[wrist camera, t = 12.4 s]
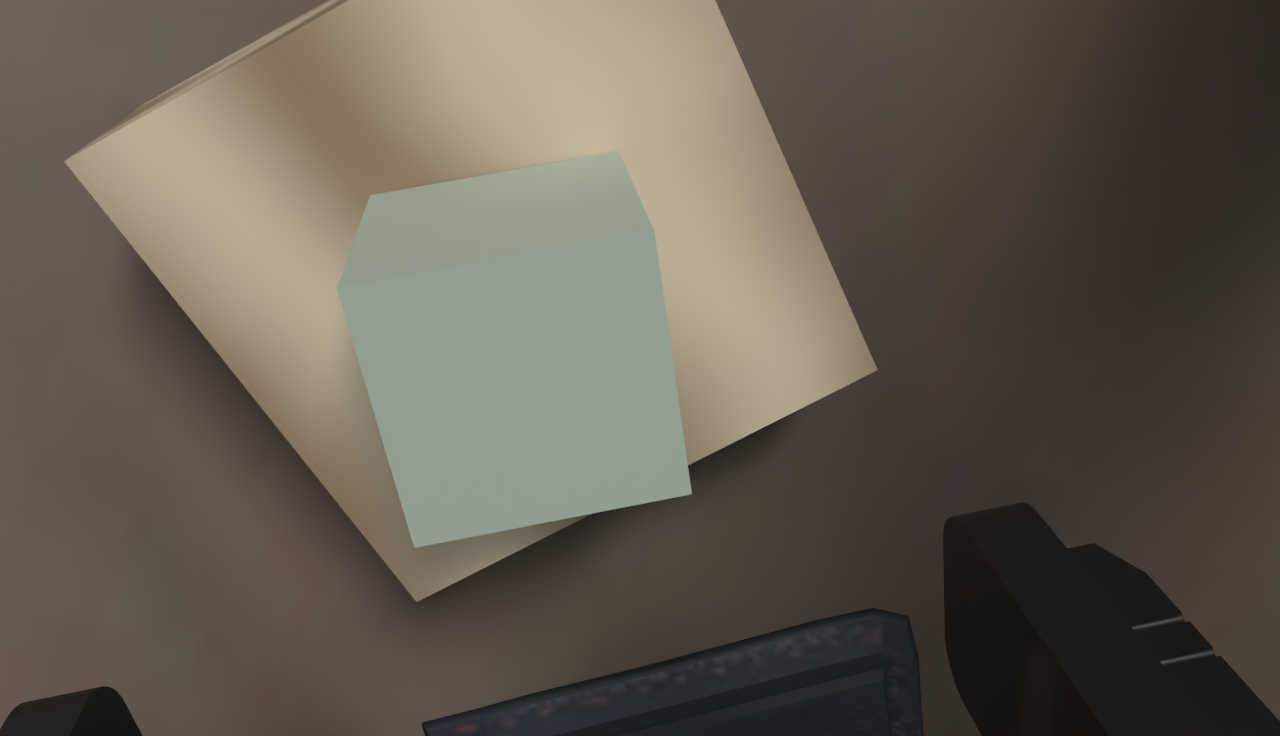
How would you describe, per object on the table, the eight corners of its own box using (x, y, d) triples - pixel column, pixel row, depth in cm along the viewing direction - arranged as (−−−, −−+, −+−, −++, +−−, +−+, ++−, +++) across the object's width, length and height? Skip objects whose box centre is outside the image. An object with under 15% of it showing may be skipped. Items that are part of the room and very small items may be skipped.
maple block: (607, -160, 21) (642, -166, 16) (809, 282, 26) (877, 369, 21) (148, 100, 22) (63, 161, 17) (426, 479, 27) (416, 602, 22)
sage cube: (619, 151, 19) (654, 231, 15) (653, 371, 21) (692, 494, 17) (369, 194, 18) (337, 288, 14) (428, 413, 20) (414, 548, 16)
